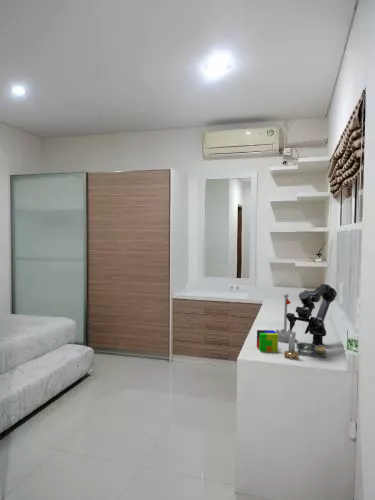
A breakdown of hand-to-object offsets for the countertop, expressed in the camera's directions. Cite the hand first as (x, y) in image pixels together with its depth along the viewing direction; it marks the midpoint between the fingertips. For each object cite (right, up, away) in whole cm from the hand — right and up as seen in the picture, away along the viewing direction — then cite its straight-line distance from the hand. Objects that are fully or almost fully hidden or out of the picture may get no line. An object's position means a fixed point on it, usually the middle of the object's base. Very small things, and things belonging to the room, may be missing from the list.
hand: (297, 331), depth 212 cm
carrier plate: (+9, -13, +3) cm, 16 cm away
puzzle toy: (-15, -12, +9) cm, 22 cm away
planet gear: (-5, -13, -5) cm, 14 cm away
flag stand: (0, -12, +30) cm, 32 cm away
